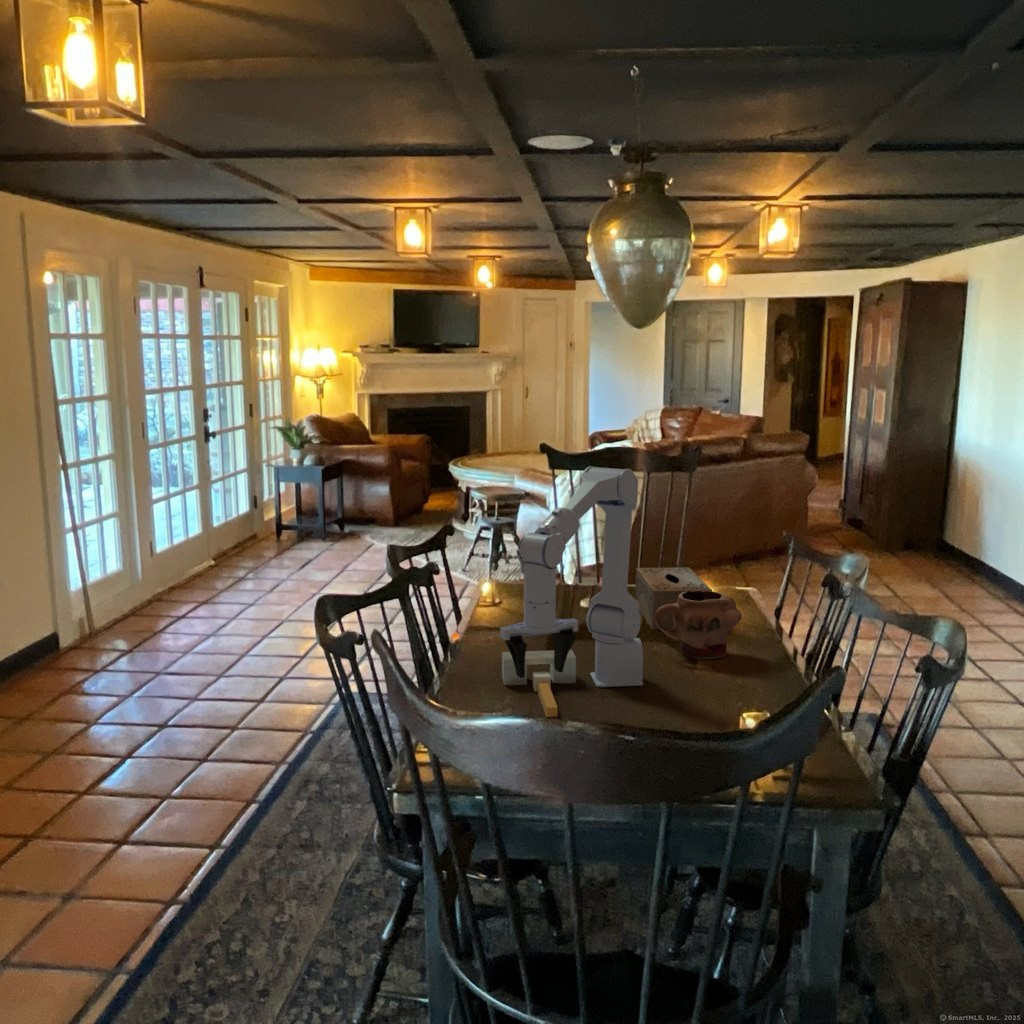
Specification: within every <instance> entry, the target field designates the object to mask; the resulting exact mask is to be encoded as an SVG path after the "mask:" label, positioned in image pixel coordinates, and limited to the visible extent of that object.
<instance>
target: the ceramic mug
mask: <svg viewBox="0 0 1024 1024" xmlns="http://www.w3.org/2000/svg"><path fill="white" fill-rule="evenodd" d="M666 613H671V614H673V620H674V626H673V627H672V628H671V629H670V630H666V629H665V628H664V627H663V626H662V625H661V623H660V620H661V617H662V616H663V615H664V614H666ZM742 618H743V617H742V612H741V611H740V609H738V608H737V604H736V601H735V599H734V598H733V597H732V596H730V595H729V594H726V593H722V592H717V591H713V590H712V591H687V592H683V593H681V594H679V596H678V600H677V603H675V604H667V605H663V606H661V607H660V608H659V609H658V610H657V611H656V613H655V615H654V620H655V624H656V626H657V627H658V628H659V629H660V631H661V632H662V633H664V634H665V635H666V636H667V637H669V638H672V639H673V640H674V641H676V642H678V641H679V643H680V649H681V652H682V653H683V655H685V656H686V657H689V658H691V659H692V658H693V659H698V660H699V659H708V660H709V659H716V658H723V657H725V656H726V655H727V653H728V652H727V651H728V650H727V648H728V647H727V643H728V642H727V640H728V637H729V636H730V634H731V633H732V631H733V630H734V629H735V628H736V627H737V625H738V624H739V623H740V621H741V620H742Z"/></svg>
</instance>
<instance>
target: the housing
mask: <svg viewBox="0 0 1024 1024" xmlns="http://www.w3.org/2000/svg"><path fill="white" fill-rule="evenodd" d="M528 665H531V666H532V665H549V674H550V676H551V681H552V682H551V683H552V684H553V685H555V684H554V683H559V684H576V683H577V656H576V655H575V653H574V651H573V649H570V650H569V652H568V655H567V658H566V661H565V664H564V668H563V672H558V671H557V670H555V667H554V650H529V651H527V650H526V653H525V676H524V678H520V677H518V676H517V675H516V670H515V665H514V662H513V658H512V656H511V653H510V651H502V652H501V673H502V674H501V678H502V681H503V685H504V686H523V685H528Z"/></svg>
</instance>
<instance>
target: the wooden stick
mask: <svg viewBox="0 0 1024 1024" xmlns="http://www.w3.org/2000/svg"><path fill="white" fill-rule="evenodd" d="M551 681H552V679H551V676H550V671H533V672H532V688H533V691H534V692H537V695H538V697H539V700H540V702H541V706H542V708H543V711H544V715H545V717H553V716H557V717H558V711H559V710H558V705H557V703H556V699H555V697H554V694H553V691H552V690H551V689H552V688H551V687H552V686H551V683H552V682H551ZM557 717H555V718H556V719H557Z"/></svg>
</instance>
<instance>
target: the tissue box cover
mask: <svg viewBox="0 0 1024 1024" xmlns="http://www.w3.org/2000/svg"><path fill="white" fill-rule="evenodd" d="M687 591H713V589H712V588H711V587H709V586H708V584H707V583H706V582H705V581H703V580H702V578H701V577H700V576H699V575H697V573H695V571H694V570H692V568H690V567H636V569H635V600H636V601H637V602H638V603H639V612H640V613H641V615H642V616H643V617H644V619H645V620H646V622H647V624H648V626H650V628H651V630H652V631H655V630H656V631H657V630H658V631H659V630H660V629H659V628H658V627H657V626H656V624H655V620H654V615H655V613H656V611H657V610H658V609H659V608H660V607H661V606H663V605H667V604H675V603H677V600H678V596H679V594H681V593H683V592H687ZM660 623H661V625H662V626H663V627H664V628H665V629H666V630H670V629H671V628H672V627H673V626H674V620H673V614H671V613H666V614H664V615H663V616H662V617H661V620H660ZM660 631H661V630H660Z"/></svg>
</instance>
